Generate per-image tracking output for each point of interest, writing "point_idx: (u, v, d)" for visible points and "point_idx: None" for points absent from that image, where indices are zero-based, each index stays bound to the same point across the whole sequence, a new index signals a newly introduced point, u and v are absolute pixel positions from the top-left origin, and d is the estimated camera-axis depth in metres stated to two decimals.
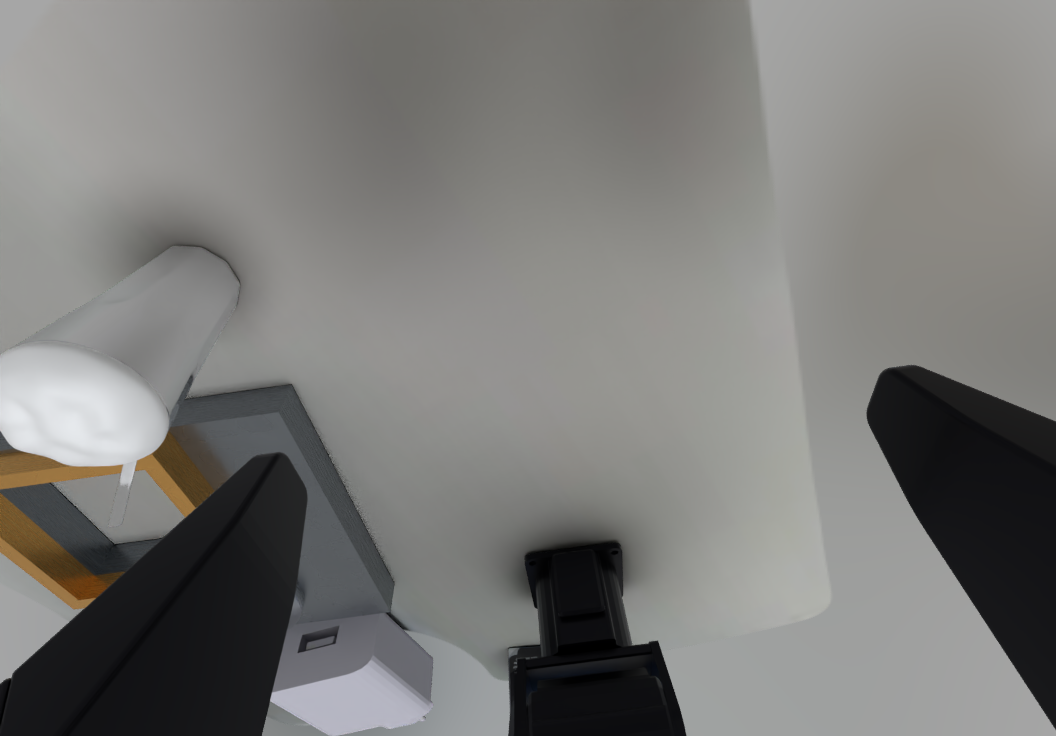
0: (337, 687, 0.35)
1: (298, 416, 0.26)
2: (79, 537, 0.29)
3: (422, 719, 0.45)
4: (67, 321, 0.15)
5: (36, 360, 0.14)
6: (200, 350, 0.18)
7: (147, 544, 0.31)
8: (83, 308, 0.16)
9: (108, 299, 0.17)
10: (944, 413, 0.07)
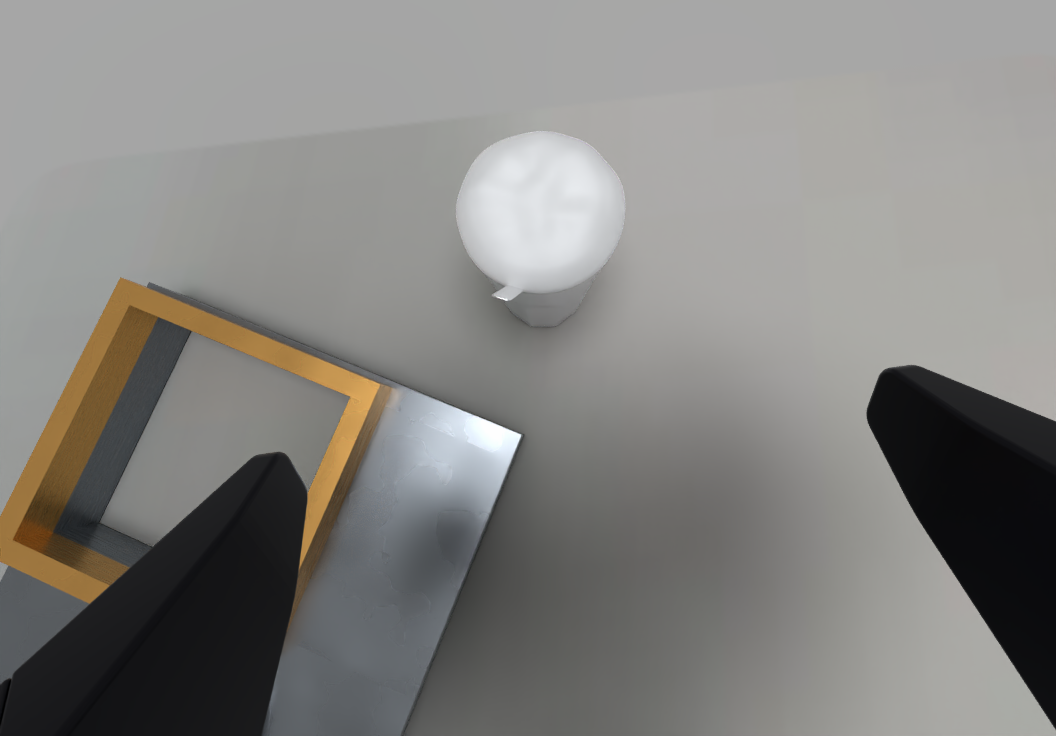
0: None
1: (509, 468, 0.20)
2: (102, 472, 0.21)
3: None
4: None
5: (582, 141, 0.14)
6: (589, 286, 0.17)
7: (139, 545, 0.21)
8: None
9: None
10: (944, 413, 0.07)
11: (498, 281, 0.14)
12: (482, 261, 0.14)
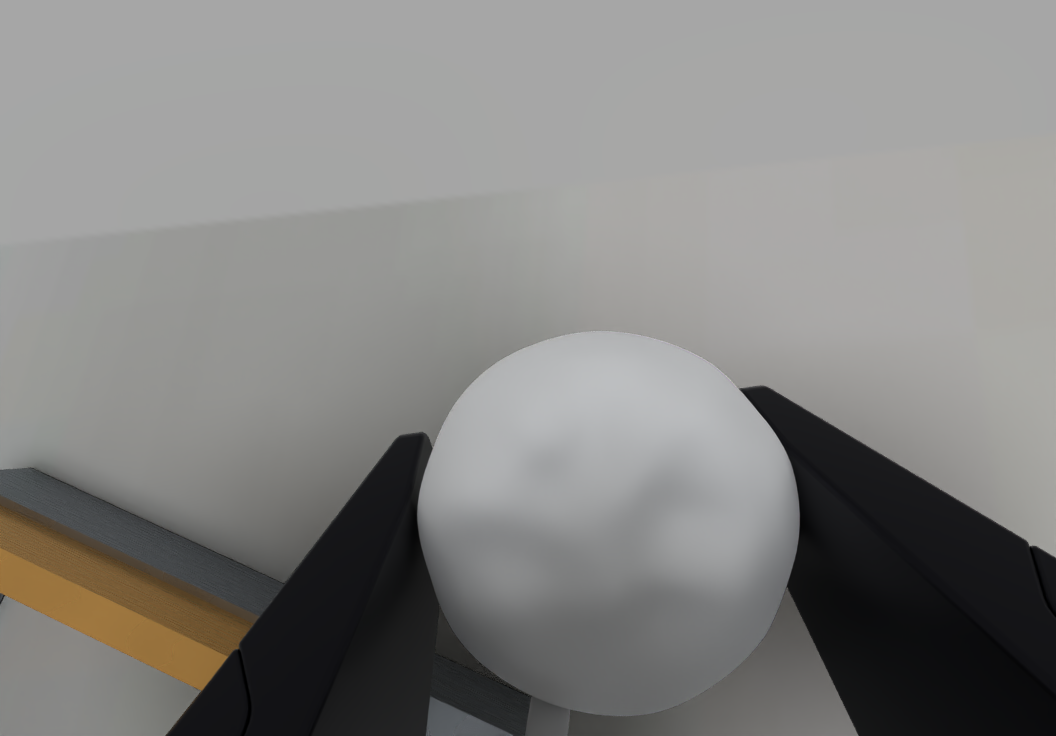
0: None
1: None
2: None
3: None
4: None
5: (702, 368, 0.06)
6: None
7: None
8: None
9: None
10: None
11: (511, 683, 0.06)
12: (474, 651, 0.06)
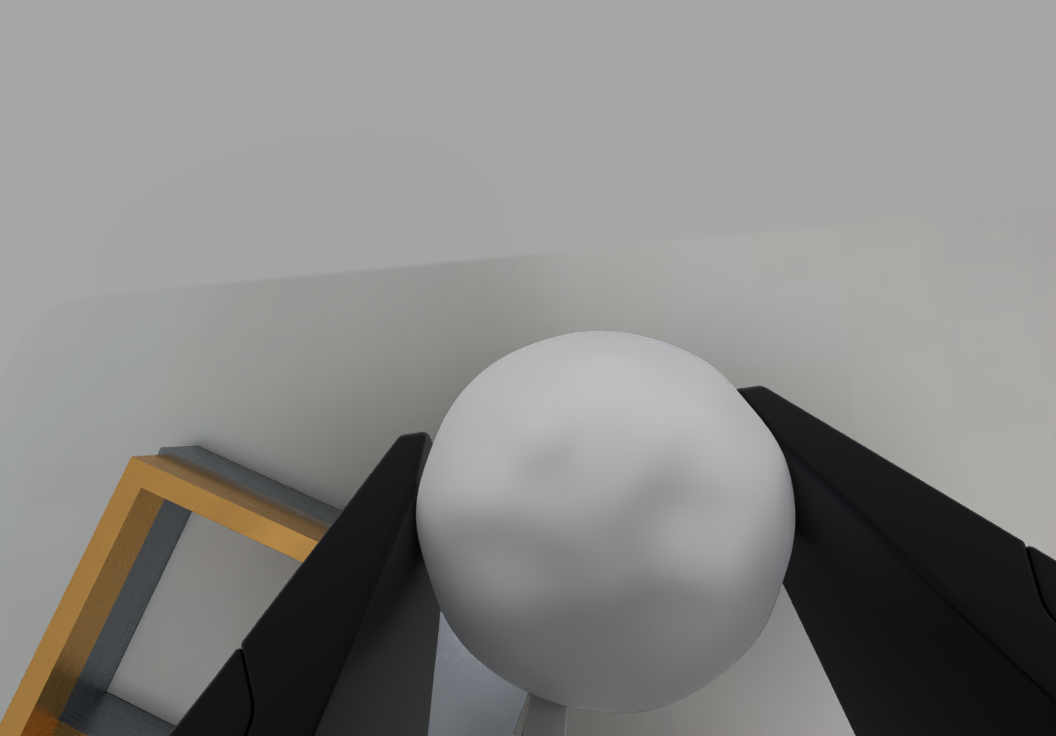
0: None
1: None
2: (110, 646, 0.20)
3: None
4: None
5: (700, 368, 0.06)
6: None
7: (149, 721, 0.20)
8: None
9: None
10: None
11: (509, 681, 0.06)
12: (473, 648, 0.06)
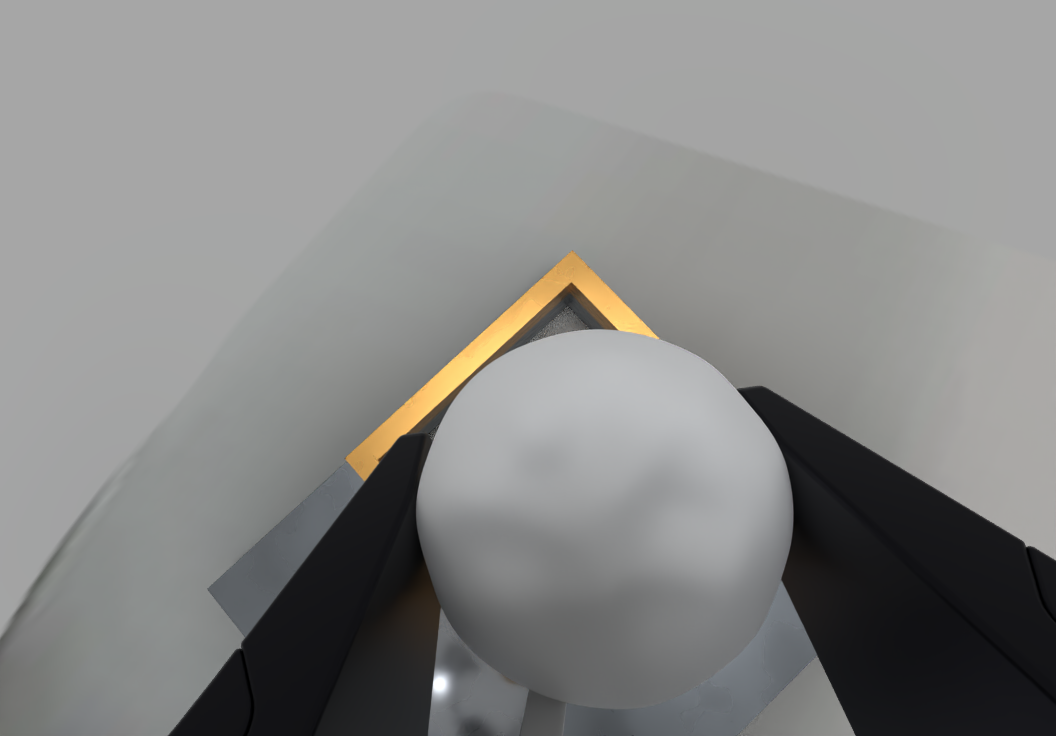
0: None
1: None
2: (442, 415, 0.20)
3: None
4: None
5: (697, 366, 0.06)
6: None
7: None
8: None
9: None
10: None
11: (508, 677, 0.06)
12: (472, 645, 0.06)
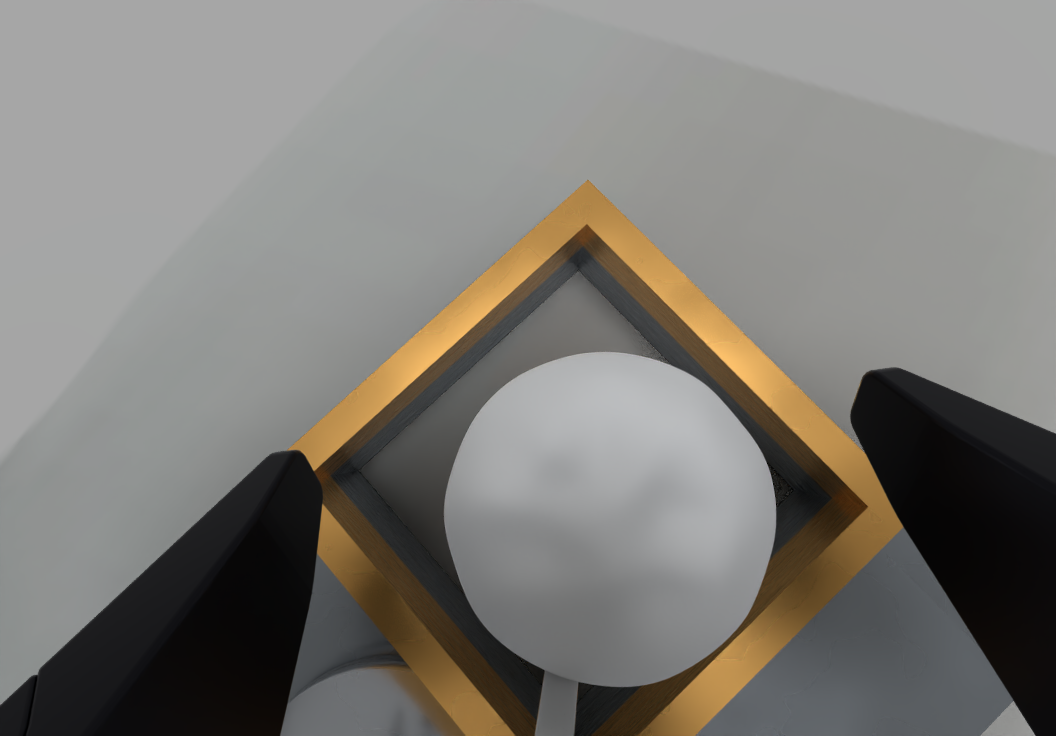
0: None
1: None
2: (406, 416, 0.15)
3: None
4: None
5: (692, 385, 0.07)
6: None
7: (404, 530, 0.15)
8: None
9: None
10: (924, 416, 0.07)
11: (526, 659, 0.07)
12: (495, 631, 0.07)
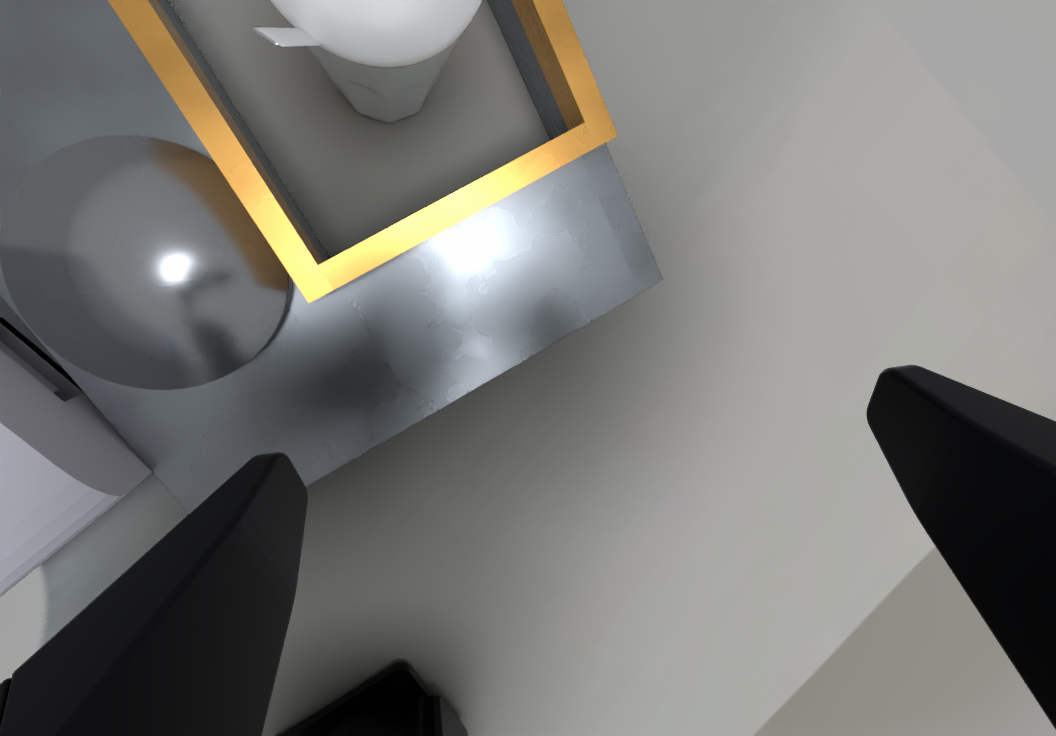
0: None
1: None
2: None
3: None
4: None
5: None
6: (429, 80, 0.13)
7: (206, 63, 0.16)
8: None
9: None
10: (944, 413, 0.07)
11: (287, 17, 0.10)
12: None
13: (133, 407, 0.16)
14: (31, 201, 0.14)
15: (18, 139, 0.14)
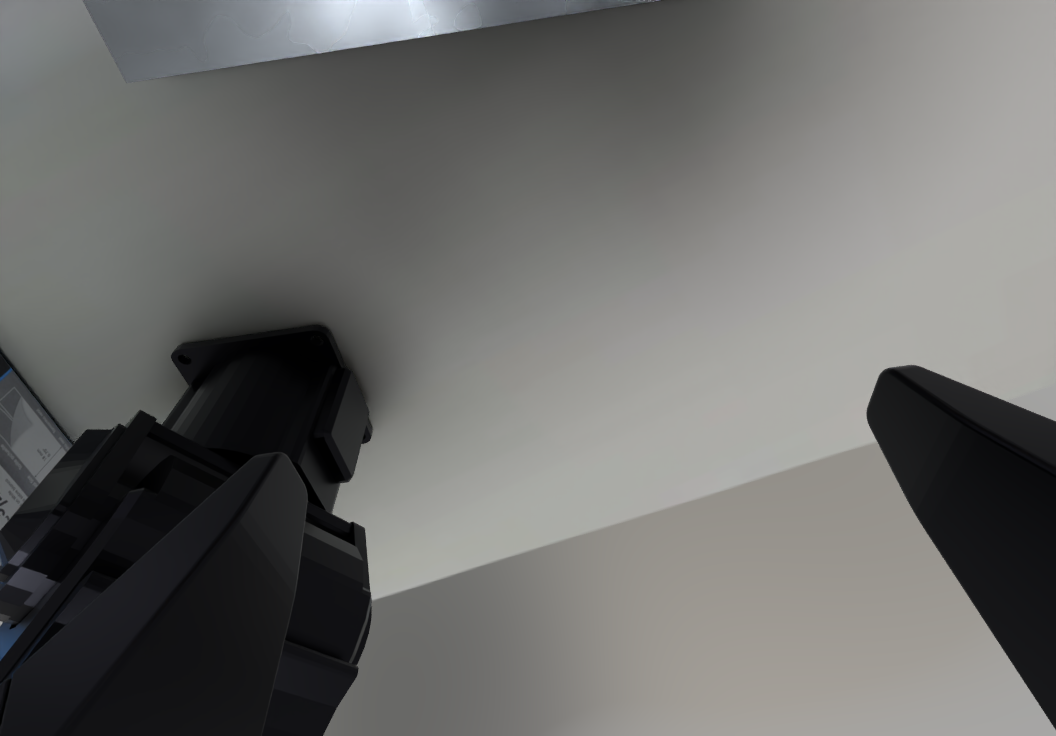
0: None
1: None
2: None
3: None
4: None
5: None
6: None
7: None
8: None
9: None
10: (944, 413, 0.07)
11: None
12: None
13: None
14: None
15: None
